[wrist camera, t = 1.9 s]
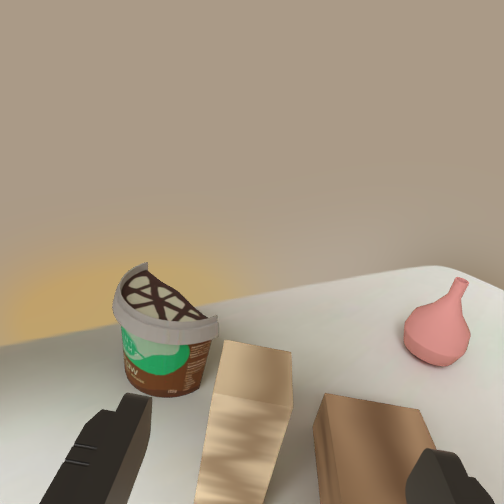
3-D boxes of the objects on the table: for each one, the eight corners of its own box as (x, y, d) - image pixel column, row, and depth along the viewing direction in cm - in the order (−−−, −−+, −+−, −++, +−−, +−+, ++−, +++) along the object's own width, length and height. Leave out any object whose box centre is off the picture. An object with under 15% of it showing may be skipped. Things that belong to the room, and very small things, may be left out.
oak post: (193, 505, 27) (212, 392, 22) (206, 444, 32) (224, 339, 26) (258, 517, 27) (293, 407, 22) (261, 455, 32) (291, 352, 26)
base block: (329, 601, 24) (351, 563, 21) (311, 429, 35) (324, 393, 33) (461, 623, 24) (496, 587, 22) (400, 444, 35) (419, 409, 33)
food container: (90, 353, 39) (87, 274, 34) (141, 332, 43) (144, 259, 39) (156, 432, 32) (163, 346, 27) (208, 397, 36) (221, 318, 32)
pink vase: (429, 383, 44) (472, 302, 38) (383, 342, 49) (415, 267, 44) (466, 369, 47) (510, 294, 42) (420, 332, 53) (453, 262, 48)
